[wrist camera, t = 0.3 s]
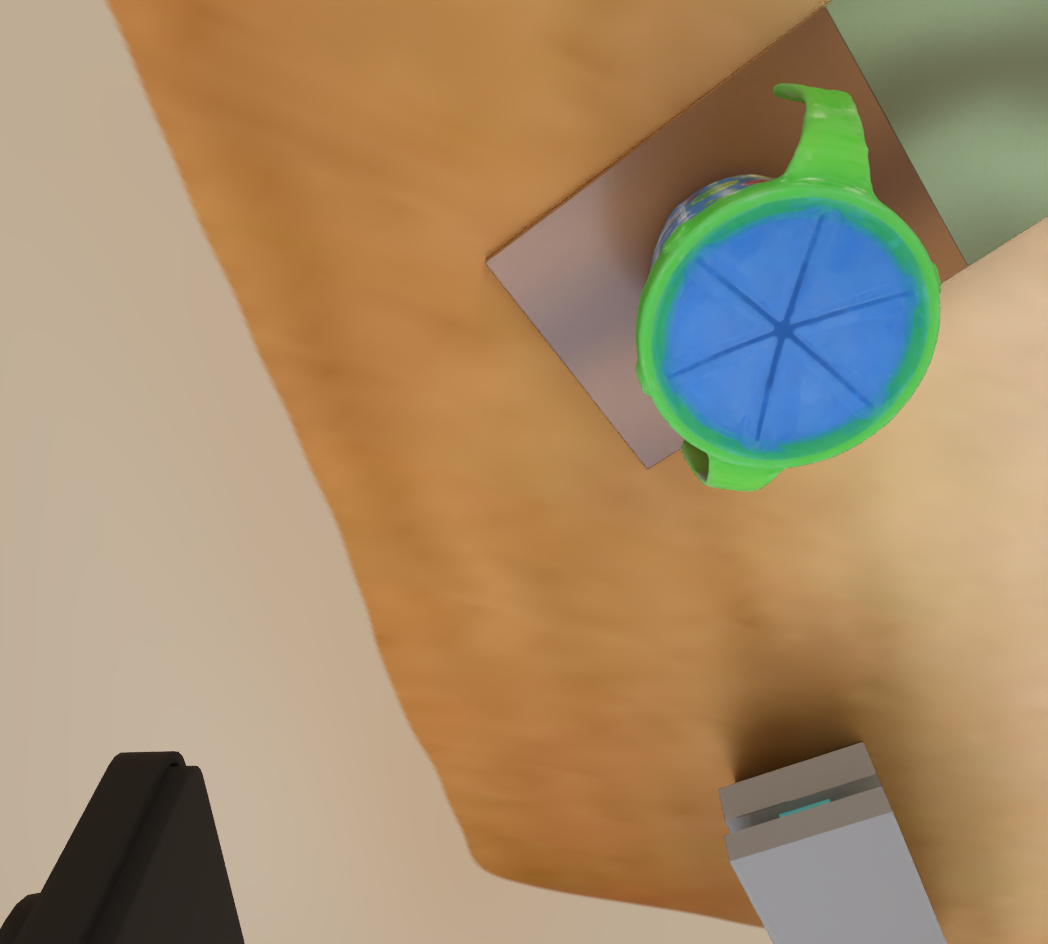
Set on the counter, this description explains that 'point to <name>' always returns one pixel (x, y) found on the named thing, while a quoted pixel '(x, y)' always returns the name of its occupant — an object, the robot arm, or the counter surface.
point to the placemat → (767, 149)
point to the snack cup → (786, 309)
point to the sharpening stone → (826, 855)
